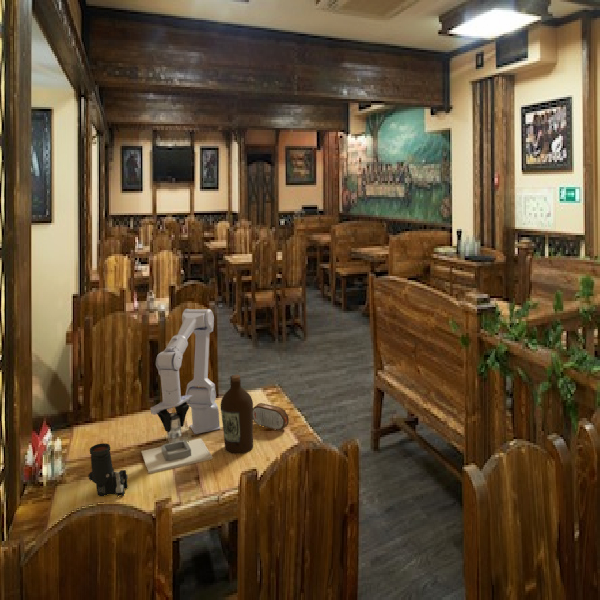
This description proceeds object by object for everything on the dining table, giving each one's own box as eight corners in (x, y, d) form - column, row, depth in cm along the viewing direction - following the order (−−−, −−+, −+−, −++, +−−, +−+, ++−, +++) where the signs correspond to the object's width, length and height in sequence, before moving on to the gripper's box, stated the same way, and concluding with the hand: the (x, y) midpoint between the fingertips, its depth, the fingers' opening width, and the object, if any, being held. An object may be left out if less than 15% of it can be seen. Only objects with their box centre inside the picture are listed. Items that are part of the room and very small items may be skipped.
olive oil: (235, 438, 182) (231, 369, 177) (261, 444, 176) (257, 373, 172) (216, 451, 172) (212, 379, 168) (243, 457, 167) (238, 383, 163)
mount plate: (201, 440, 181) (200, 432, 180) (212, 458, 167) (211, 450, 167) (141, 453, 173) (140, 444, 172) (148, 473, 159) (147, 464, 159)
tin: (289, 430, 187) (288, 408, 185) (284, 433, 184) (283, 411, 183) (256, 422, 195) (255, 400, 193) (250, 425, 192) (249, 403, 191)
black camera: (117, 453, 143) (80, 455, 143) (122, 499, 146) (85, 501, 145) (125, 439, 151) (90, 442, 151) (129, 483, 154) (95, 486, 153)
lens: (176, 431, 172) (174, 411, 171) (184, 434, 169) (182, 414, 168) (164, 436, 169) (162, 415, 167) (172, 439, 166) (170, 418, 164)
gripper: (182, 379, 174) (185, 418, 176) (143, 392, 163) (147, 432, 166) (195, 384, 169) (198, 423, 171) (156, 397, 159) (159, 438, 161)
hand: (174, 428), depth 168 cm, fingers closed on lens, 4 cm apart
